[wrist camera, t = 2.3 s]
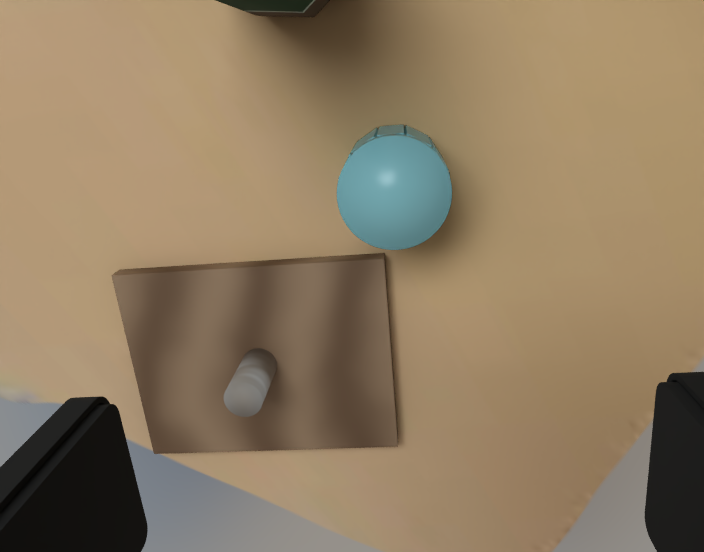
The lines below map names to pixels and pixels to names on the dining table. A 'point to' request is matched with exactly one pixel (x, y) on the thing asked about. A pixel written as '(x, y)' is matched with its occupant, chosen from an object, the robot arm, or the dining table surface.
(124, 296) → the post board
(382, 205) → the cap
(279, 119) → the dining table surface
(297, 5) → the beer bottle
